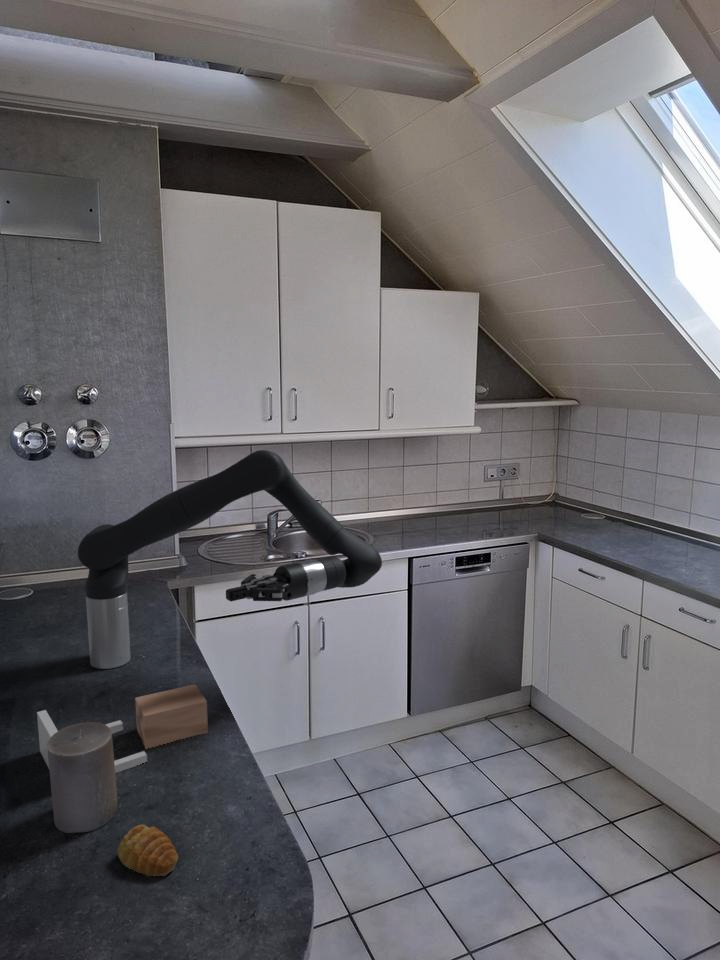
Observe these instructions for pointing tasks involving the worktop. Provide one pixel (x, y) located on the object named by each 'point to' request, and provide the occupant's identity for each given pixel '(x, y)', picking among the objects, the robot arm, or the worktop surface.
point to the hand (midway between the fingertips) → (227, 595)
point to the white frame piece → (49, 729)
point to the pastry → (147, 851)
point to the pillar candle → (82, 777)
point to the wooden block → (171, 715)
